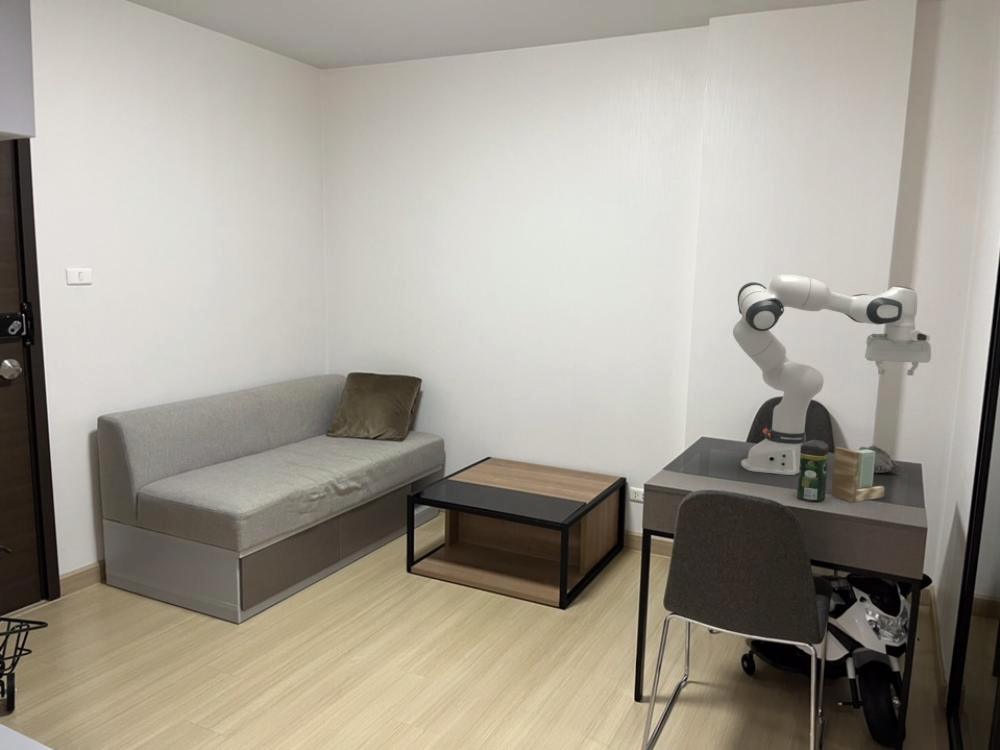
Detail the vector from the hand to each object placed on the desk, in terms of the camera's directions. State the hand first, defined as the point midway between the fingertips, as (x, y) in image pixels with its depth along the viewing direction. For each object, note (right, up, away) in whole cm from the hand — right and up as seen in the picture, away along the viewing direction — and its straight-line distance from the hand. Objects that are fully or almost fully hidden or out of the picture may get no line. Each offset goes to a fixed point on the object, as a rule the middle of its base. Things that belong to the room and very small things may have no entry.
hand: (895, 374), depth 260 cm
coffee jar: (-36, -40, -17) cm, 56 cm away
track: (-20, -39, -14) cm, 46 cm away
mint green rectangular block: (-18, -39, -14) cm, 45 cm away
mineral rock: (0, -36, +14) cm, 38 cm away
